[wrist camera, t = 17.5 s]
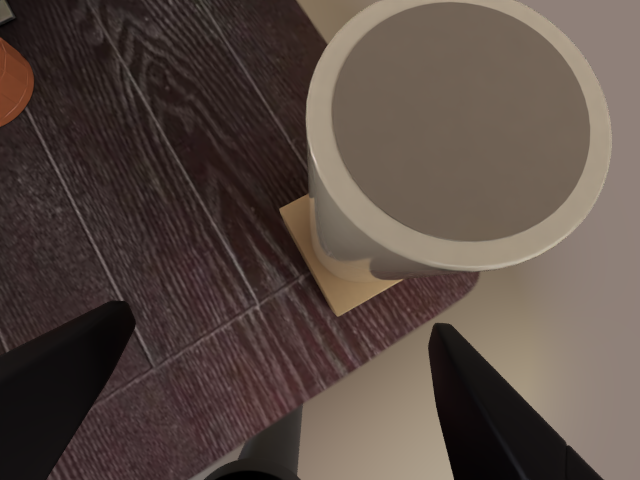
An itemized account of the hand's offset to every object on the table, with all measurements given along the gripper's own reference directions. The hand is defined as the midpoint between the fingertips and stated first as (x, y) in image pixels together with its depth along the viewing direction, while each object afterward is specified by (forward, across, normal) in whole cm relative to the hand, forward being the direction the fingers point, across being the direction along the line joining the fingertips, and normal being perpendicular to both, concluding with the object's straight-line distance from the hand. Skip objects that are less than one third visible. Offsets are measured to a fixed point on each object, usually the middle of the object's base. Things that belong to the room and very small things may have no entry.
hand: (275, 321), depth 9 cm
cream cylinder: (+9, -3, +2) cm, 10 cm away
